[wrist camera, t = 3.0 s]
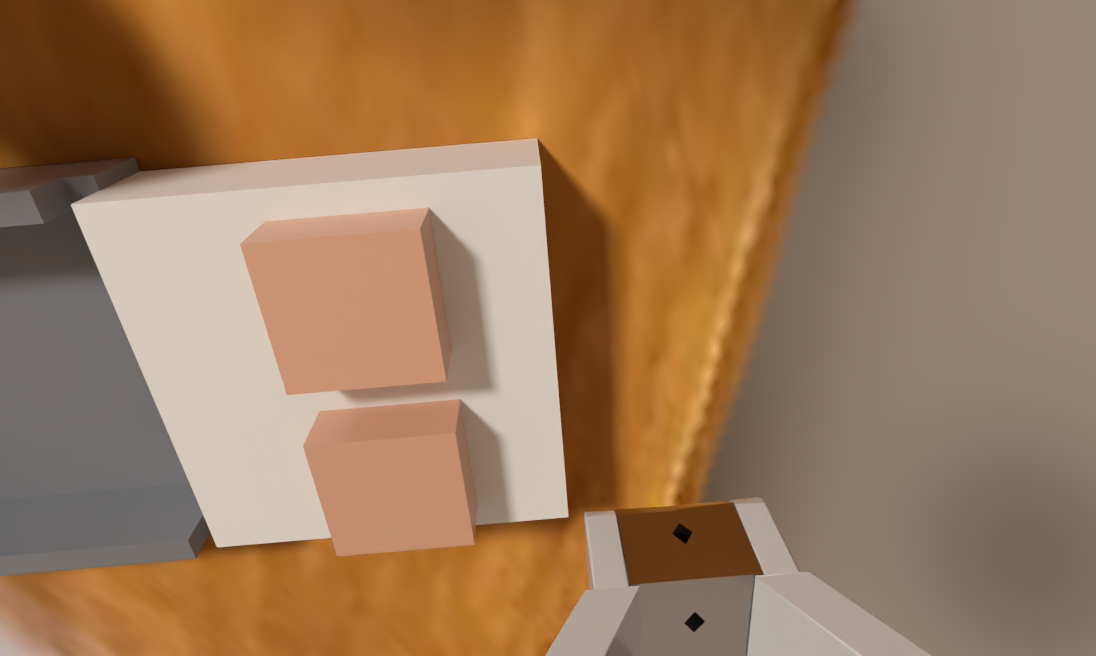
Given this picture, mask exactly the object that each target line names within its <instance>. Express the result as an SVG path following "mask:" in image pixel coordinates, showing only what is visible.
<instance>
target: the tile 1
mask: <svg viewBox="0 0 1096 656" xmlns="http://www.w3.org/2000/svg"><path fill="white" fill-rule="evenodd" d="M240 246H241V250H242V253H243V256H244V259H245V262H246V266H247V269H248V272H249V275H250V278H251V282H252V285H253V288H254V291H255V294H256V298H257V301H258V304H259V307H260V310H261V314H262V317H263V320H264V323H265V326H266V330H267V333H268V336H269V339H270V343H271V346H272V349H273V352H274V355H275V359H276V362H277V365H278V368H279V371H280V375H281V378H282V381H283V384H284V387H285V391H286V394H287V395H294V394H306V393H317V392H329V391H341V390H353V389H364V388H376V387H388V386H400V385H411V384H423V383H435V382H446V381H447V376H448V370H449V365H450V359H451V354H452V346H451V340H450V334H449V328H448V322H447V316H446V309H445V303H444V297H443V291H442V285H441V279H440V273H439V267H438V261H437V254H436V248H435V242H434V236H433V230H432V224H431V218H430V212H429V208H417V209H406V210H394V211H382V212H370V213H358V214H346V215H334V216H322V217H311V218H299V219H287V220H275V221H265V222H264V223H262V224H261V225H260V226H259V227H258V228H257V229H256V230H255V231H254V232H253V233H251V234H250V235H249V236H248V237H247V238H246V239H245V240H244V241H243V242H242V243H240Z"/></svg>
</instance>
